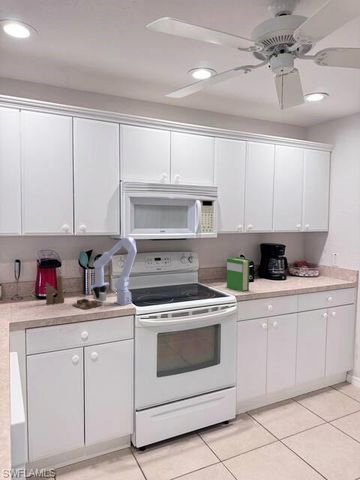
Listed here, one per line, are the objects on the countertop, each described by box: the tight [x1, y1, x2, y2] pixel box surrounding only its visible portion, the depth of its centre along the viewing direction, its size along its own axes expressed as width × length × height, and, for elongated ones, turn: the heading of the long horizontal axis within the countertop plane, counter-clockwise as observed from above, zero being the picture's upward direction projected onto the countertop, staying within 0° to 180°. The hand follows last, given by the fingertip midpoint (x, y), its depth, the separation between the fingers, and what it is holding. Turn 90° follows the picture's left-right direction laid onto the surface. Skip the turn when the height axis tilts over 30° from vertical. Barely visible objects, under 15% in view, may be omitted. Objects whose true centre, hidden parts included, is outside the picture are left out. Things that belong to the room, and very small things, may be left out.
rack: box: [72, 298, 103, 311], centre depth 223 cm, size 14×12×3 cm
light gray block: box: [92, 291, 107, 302], centre depth 234 cm, size 10×3×5 cm, turn 50°
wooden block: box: [45, 274, 65, 306], centre depth 228 cm, size 4×11×18 cm, turn 124°
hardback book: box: [226, 257, 250, 293], centre depth 276 cm, size 18×7×24 cm, turn 34°
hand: (99, 297), depth 234 cm, fingers closed on light gray block, 3 cm apart
